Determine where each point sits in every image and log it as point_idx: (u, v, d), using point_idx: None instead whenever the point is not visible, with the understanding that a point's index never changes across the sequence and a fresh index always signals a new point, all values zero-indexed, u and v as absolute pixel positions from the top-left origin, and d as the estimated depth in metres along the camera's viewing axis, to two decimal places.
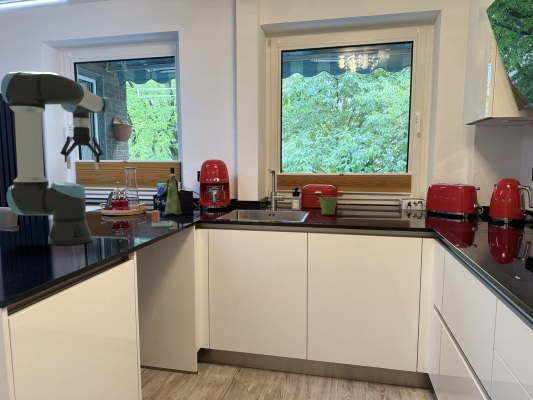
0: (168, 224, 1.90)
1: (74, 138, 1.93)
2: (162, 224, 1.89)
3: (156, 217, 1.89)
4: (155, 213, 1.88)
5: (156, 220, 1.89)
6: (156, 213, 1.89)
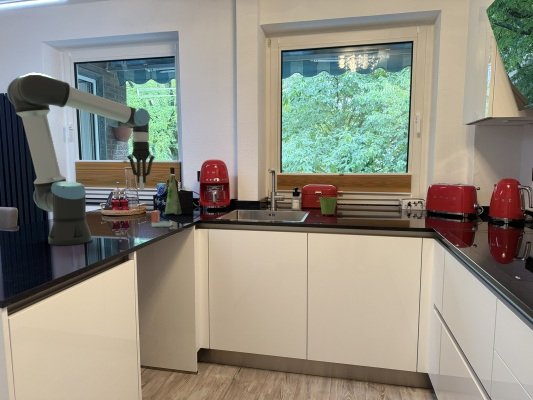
0: (168, 224, 1.90)
1: (134, 153, 1.86)
2: (162, 224, 1.89)
3: (156, 217, 1.89)
4: (155, 213, 1.88)
5: (156, 220, 1.89)
6: (156, 213, 1.89)
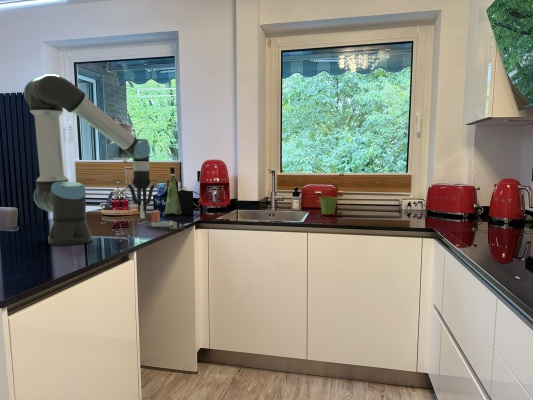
0: (168, 224, 1.90)
1: (134, 182, 1.88)
2: (162, 224, 1.89)
3: (156, 217, 1.89)
4: (155, 213, 1.88)
5: (156, 220, 1.89)
6: (156, 213, 1.89)
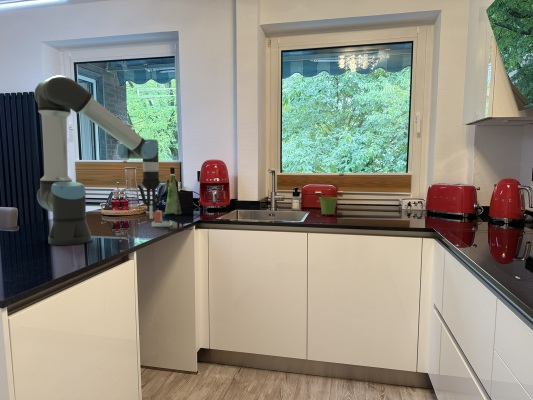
0: (168, 224, 1.90)
1: (144, 182, 1.88)
2: (162, 224, 1.89)
3: (159, 217, 1.89)
4: (158, 213, 1.89)
5: (159, 220, 1.89)
6: (159, 213, 1.89)
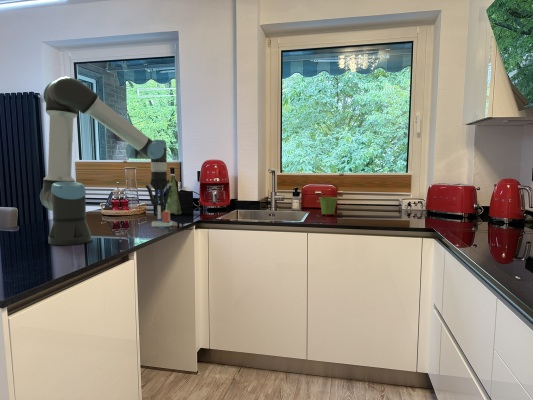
0: (168, 224, 1.90)
1: (152, 183, 1.88)
2: (162, 224, 1.89)
3: (167, 217, 1.89)
4: (166, 213, 1.89)
5: (167, 220, 1.89)
6: (167, 213, 1.89)
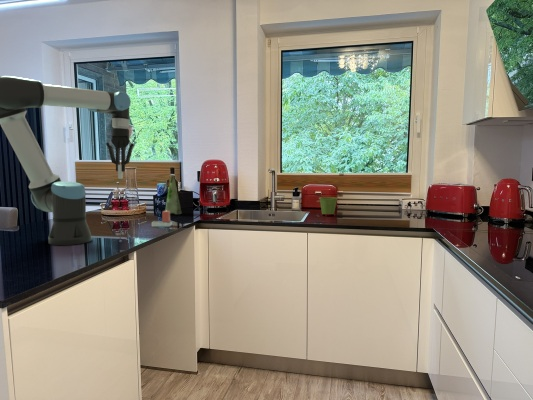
0: (168, 224, 1.90)
1: (113, 140, 1.79)
2: (162, 224, 1.89)
3: (167, 217, 1.89)
4: (166, 213, 1.89)
5: (167, 220, 1.89)
6: (167, 213, 1.89)
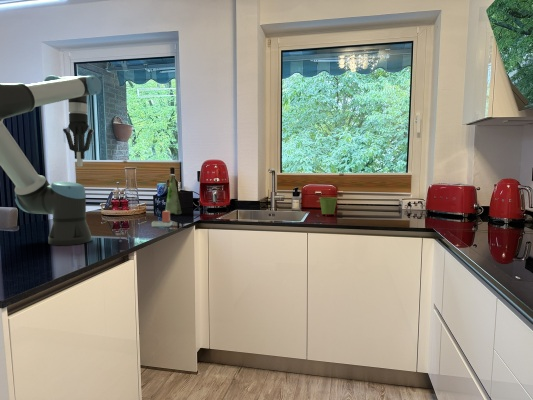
0: (168, 224, 1.90)
1: (70, 126, 1.70)
2: (162, 224, 1.89)
3: (167, 217, 1.89)
4: (166, 213, 1.89)
5: (167, 220, 1.89)
6: (167, 213, 1.89)
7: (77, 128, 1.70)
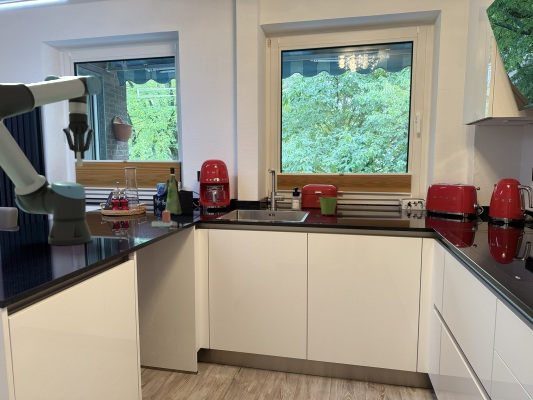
0: (168, 224, 1.90)
1: (70, 126, 1.70)
2: (162, 224, 1.89)
3: (167, 217, 1.89)
4: (166, 213, 1.89)
5: (167, 220, 1.89)
6: (167, 213, 1.89)
7: (77, 128, 1.70)
